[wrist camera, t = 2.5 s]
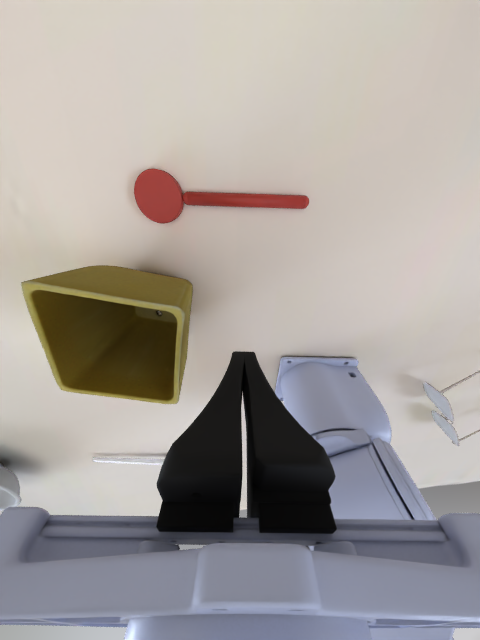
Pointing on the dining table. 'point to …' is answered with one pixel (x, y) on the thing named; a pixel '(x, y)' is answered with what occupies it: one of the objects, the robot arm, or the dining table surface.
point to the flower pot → (113, 331)
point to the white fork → (129, 460)
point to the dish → (8, 489)
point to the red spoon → (197, 197)
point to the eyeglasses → (444, 410)
